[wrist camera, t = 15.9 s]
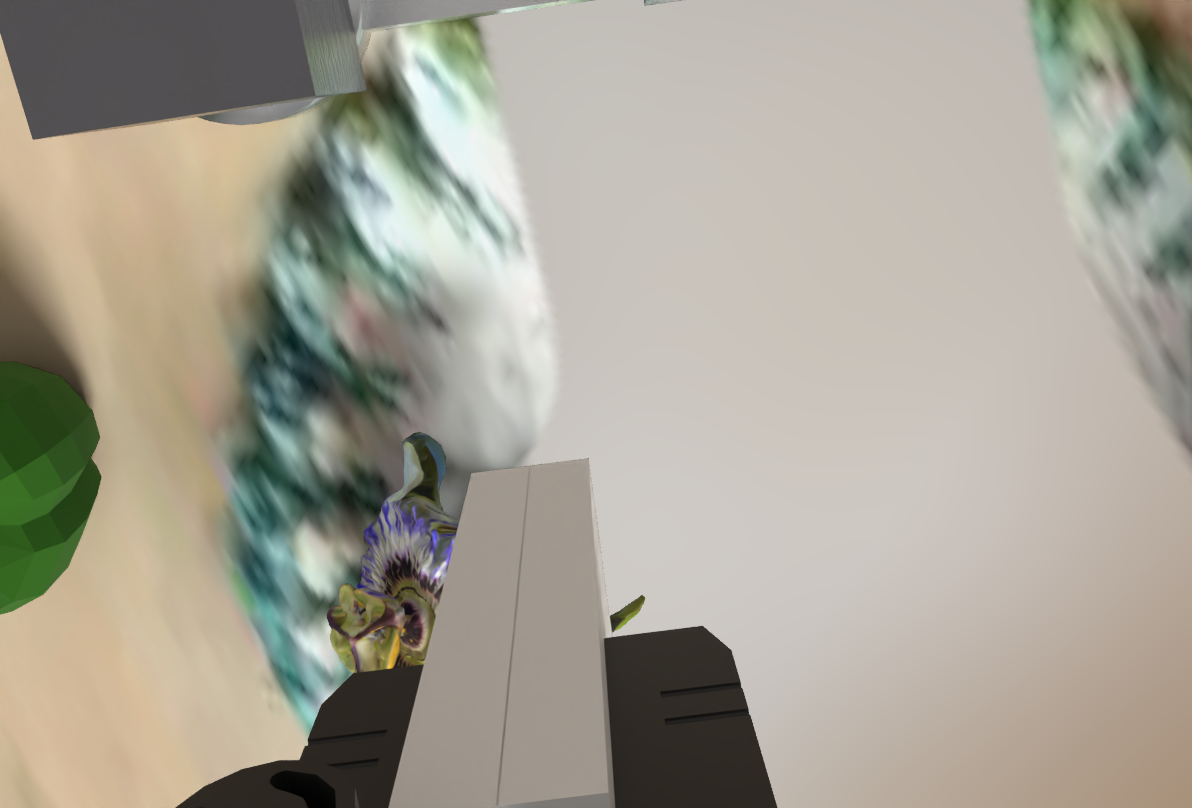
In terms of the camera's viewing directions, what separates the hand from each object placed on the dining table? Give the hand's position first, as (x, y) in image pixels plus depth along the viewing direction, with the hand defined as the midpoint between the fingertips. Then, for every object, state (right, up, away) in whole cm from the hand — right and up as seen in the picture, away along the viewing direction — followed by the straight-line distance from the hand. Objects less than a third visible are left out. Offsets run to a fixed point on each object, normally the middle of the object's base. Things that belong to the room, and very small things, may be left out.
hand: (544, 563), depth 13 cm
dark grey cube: (-11, +15, +19) cm, 26 cm away
